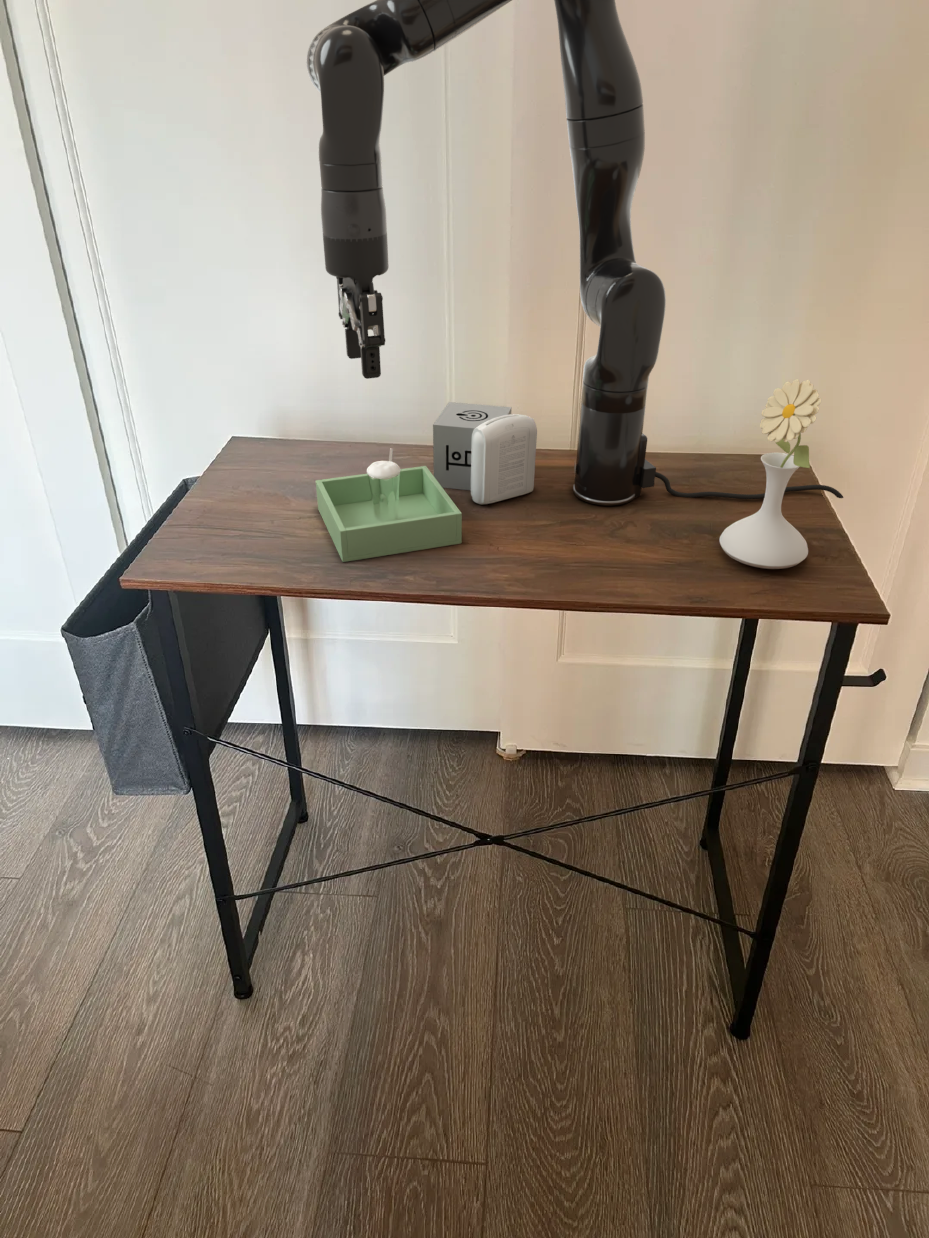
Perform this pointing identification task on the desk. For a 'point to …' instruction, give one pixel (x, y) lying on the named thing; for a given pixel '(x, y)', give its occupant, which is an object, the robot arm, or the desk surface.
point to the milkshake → (384, 489)
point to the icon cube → (458, 441)
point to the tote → (419, 524)
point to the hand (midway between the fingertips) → (363, 367)
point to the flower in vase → (776, 483)
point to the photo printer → (503, 458)
